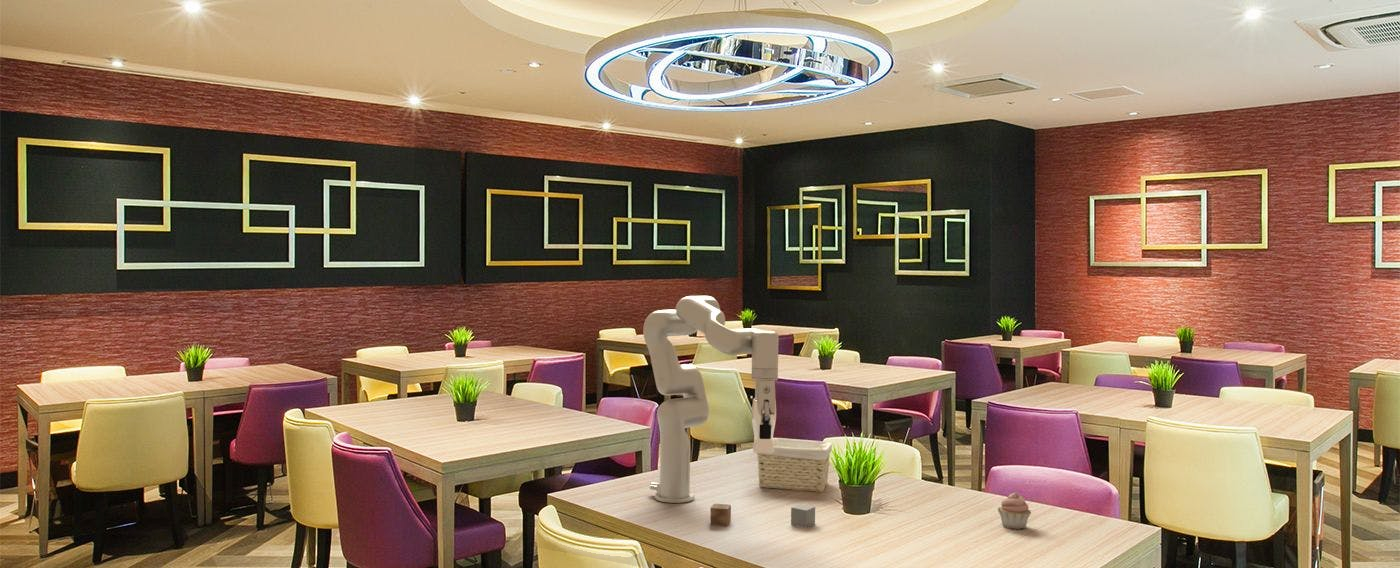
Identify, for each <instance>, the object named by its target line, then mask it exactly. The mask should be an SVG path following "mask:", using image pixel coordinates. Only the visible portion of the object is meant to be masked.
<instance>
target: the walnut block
mask: <svg viewBox="0 0 1400 568" xmlns="http://www.w3.org/2000/svg"><path fill="white" fill-rule="evenodd" d="M709 511H710V516H709V517H710V519H709V521H710V523H709V524H710V526H716V527H717V526H718V527H719V526H720V527H728V526H729V525H730V524H731V522H732V521H731V520H732V519H731V518H732V505H731V504H724V503H713V504H712V505H711V507H710V510H709Z"/></svg>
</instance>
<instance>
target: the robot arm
mask: <svg viewBox="0 0 1400 568" xmlns="http://www.w3.org/2000/svg"><path fill="white" fill-rule="evenodd" d="M725 324H726V316H725V314H724V312H723V311H722V310H721V307H720V304H719V302H718V300H716V299H715V297H713V296H710V295H689V296H685V297H682V298H680V299H679V301H678V302H677V304H676V305H675V309H661V310H655V311H653V312H651V313H650V314H648V316H646V318H645V320H644V323H643V329H642V330H643V333H642V334H643V338H644V342H645V344H646V345H645V346H646V347H647V350H648V353H649V357H650V361H651V367H652V371H653V377H654V382H655V386H656V389H657V391H658V393H660V394H661V395H663V396H674V395H683V397H679V398H678V397H677V398H672V399H667V400H665V401H663V402H662V403H661V404H660V405H659V407H658V409H657V412H656V413H657V416H656V418H657V422H658V427H659V438H660V439H659V441H660V443H659V450H660V451H659V454H660V455H659V482H652V481H651V482H650V484H649V489H650V490H651V491H652V490H654V491H656V493H655V494H654V499H655V500H656V501H659V502H660V503H661V502H662V503H668V504H672V503H673V504H681V503H687V502H692V501H693V500H694V499H695V494H694V493H693V492H692V491H690V490H691V487H690V486H691V485H690V483H691V441H690V437H689V436H688V435H689V434H687V432H686V429H687V428H693V427H700V426H701V425H704V424H705V423H707V421H708V418H709V414H710V411H709V404H708V402H709V401H708V399H707V398H708V397H707V393H706V388H705V385H704V384H705V383H704V379H703V375H702V374H701V371H700V370H699V368H697V367H696V366H695V365H693V364H689V363H683V364H682V363H681V364H680V361H679V358H678V353H677V350H676V348H675V346H674V345H673V343H672V342H671V341H670V340H669V339H668V337H678V336H690V335H693V334H695V333H697V332H701V333H703V334H704V337H705V339H706V341H707V343H708V344H709V346H711V347H712V348H714V349H715V350H717V351H718V352H721V353H723V354H726V355H728V356H739V355H751V380H754V382H755V383H754V384H755V385H754V386H755V387H754V398H755V400H757V408H758V414H760V416H761V425H760V432H759V438H760V439H771V417H770V410H771V413H774V414H773V415H775V413H776V414H777V410H776V411H775V399H776V383H775V381H777V380H779V339H780V338H779V334H778V332H776V331H773V330H761V329H758V328H754V327H753V328H749V327H748V328H732V329H731V328H728V327H727V326H725ZM763 410H764V412H765V414H762V411H763ZM763 416H764V417H763Z"/></svg>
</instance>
